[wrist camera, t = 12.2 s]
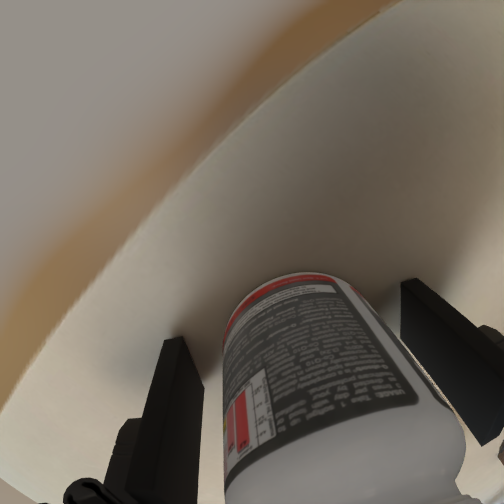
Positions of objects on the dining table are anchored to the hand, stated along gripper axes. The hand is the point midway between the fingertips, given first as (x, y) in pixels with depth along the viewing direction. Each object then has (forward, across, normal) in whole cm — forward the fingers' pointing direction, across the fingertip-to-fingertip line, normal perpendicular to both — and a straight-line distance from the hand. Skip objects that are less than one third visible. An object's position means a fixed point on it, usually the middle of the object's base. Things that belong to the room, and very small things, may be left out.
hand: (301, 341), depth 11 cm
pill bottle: (0, 0, 0) cm, 0 cm away
